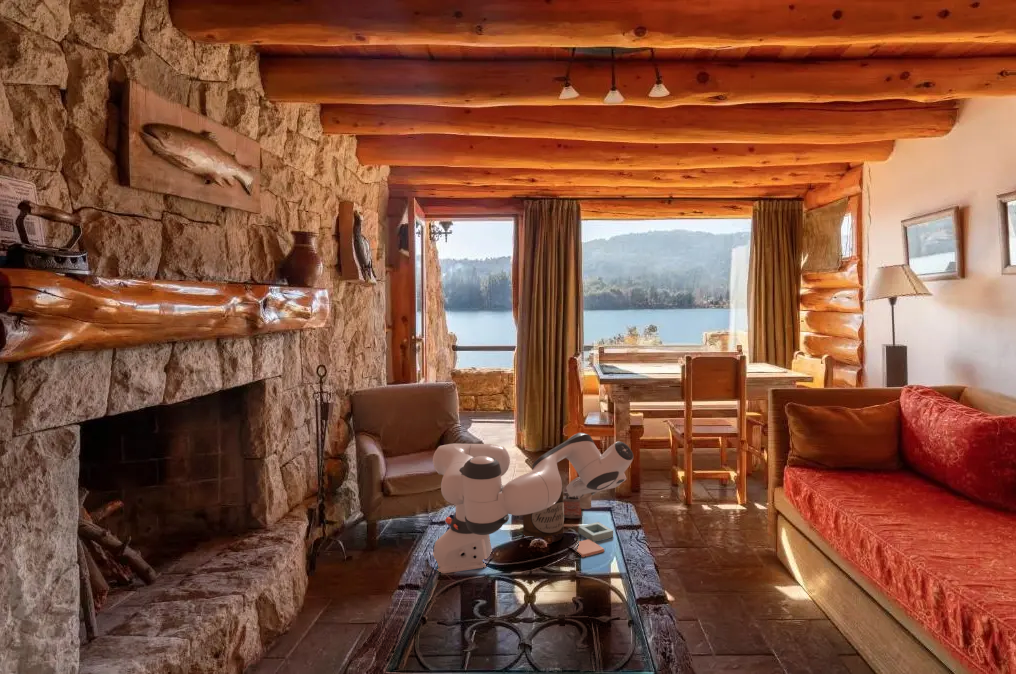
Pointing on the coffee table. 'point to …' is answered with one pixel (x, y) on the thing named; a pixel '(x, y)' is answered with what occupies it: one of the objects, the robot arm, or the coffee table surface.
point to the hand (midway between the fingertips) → (585, 494)
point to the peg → (585, 501)
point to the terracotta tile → (588, 548)
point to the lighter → (571, 506)
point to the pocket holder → (589, 528)
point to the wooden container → (545, 520)
